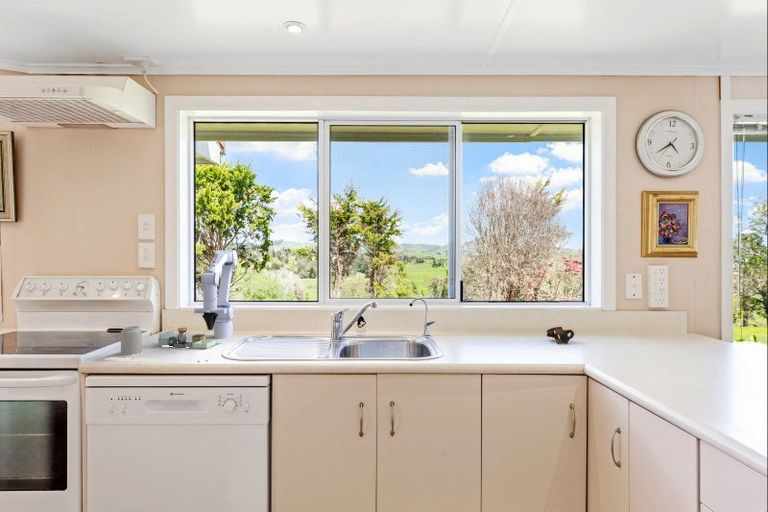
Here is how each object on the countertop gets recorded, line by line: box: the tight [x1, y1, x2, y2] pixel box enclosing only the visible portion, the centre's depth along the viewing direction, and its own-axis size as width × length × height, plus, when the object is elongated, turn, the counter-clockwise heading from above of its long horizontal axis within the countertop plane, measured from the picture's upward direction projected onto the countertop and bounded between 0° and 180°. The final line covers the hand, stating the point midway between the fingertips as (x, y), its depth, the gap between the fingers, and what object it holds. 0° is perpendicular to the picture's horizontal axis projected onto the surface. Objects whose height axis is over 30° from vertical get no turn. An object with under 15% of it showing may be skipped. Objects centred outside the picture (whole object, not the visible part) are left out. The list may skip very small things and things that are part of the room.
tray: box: [192, 339, 217, 350], centre depth 195 cm, size 7×7×2 cm
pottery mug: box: [546, 326, 575, 345], centre depth 208 cm, size 12×10×8 cm
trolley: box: [157, 330, 179, 346], centre depth 199 cm, size 10×7×5 cm
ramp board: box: [173, 341, 222, 350], centre depth 198 cm, size 12×24×3 cm, turn 81°
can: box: [120, 325, 143, 356], centre depth 184 cm, size 8×8×12 cm
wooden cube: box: [191, 333, 206, 343], centre depth 201 cm, size 4×4×4 cm
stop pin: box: [177, 327, 188, 344], centre depth 195 cm, size 4×4×8 cm
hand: (210, 329), depth 200 cm, fingers closed
